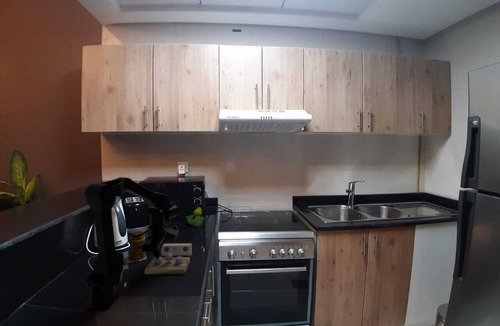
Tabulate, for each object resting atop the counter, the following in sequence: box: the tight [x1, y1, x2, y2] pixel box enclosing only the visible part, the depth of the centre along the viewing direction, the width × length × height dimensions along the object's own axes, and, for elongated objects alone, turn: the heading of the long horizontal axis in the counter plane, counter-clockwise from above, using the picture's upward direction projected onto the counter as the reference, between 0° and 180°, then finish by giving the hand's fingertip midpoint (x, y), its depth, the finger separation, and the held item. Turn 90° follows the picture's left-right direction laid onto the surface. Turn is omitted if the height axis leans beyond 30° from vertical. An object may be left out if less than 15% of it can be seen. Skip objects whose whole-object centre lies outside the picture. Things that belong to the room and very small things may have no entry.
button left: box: [153, 256, 163, 264], centre depth 94 cm, size 3×3×4 cm
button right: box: [175, 256, 184, 264], centre depth 94 cm, size 3×3×4 cm
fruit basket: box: [186, 206, 205, 227], centre depth 152 cm, size 11×9×11 cm
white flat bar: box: [160, 243, 193, 257], centre depth 106 cm, size 2×14×5 cm, turn 92°
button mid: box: [164, 253, 173, 264], centre depth 94 cm, size 3×3×4 cm
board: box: [144, 256, 191, 275], centre depth 94 cm, size 10×16×2 cm, turn 93°
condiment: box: [124, 230, 148, 264], centre depth 102 cm, size 7×8×12 cm
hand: (157, 258), depth 93 cm, fingers closed, pressing on button left
